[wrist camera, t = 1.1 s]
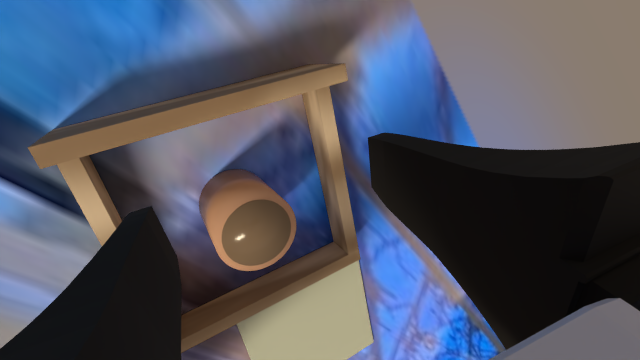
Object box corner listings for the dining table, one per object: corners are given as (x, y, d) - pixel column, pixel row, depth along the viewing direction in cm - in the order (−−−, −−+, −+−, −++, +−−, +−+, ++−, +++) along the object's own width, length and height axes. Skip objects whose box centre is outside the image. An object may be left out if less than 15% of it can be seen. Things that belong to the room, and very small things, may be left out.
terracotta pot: (274, 217, 26) (304, 250, 22) (212, 244, 25) (230, 285, 20) (257, 159, 24) (286, 181, 20) (188, 183, 23) (202, 213, 18)
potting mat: (372, 340, 36) (373, 342, 36) (269, 406, 32) (270, 408, 32) (355, 250, 31) (356, 251, 31) (232, 313, 27) (232, 314, 27)
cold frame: (345, 245, 31) (378, 274, 26) (163, 336, 25) (168, 390, 21) (308, 64, 24) (344, 63, 20) (52, 129, 18) (27, 147, 14)
